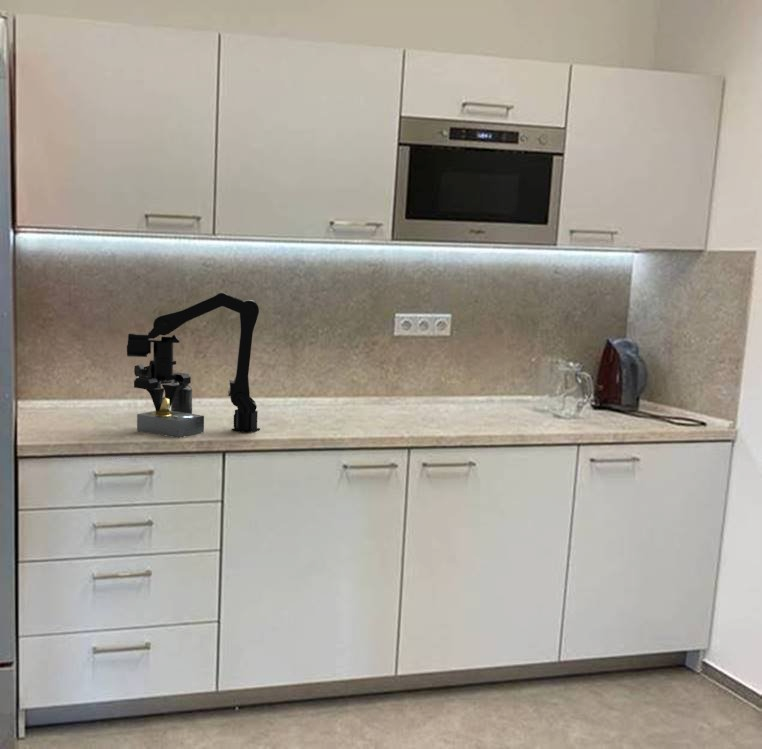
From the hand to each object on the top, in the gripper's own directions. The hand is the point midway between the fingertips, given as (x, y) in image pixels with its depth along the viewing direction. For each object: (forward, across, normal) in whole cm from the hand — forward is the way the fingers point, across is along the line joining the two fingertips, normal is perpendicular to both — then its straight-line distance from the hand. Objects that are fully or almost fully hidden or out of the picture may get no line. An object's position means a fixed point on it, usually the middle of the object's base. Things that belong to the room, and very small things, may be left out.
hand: (162, 409), depth 258 cm
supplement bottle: (+6, -24, -13) cm, 28 cm away
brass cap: (+4, 0, 0) cm, 4 cm away
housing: (+6, 0, +3) cm, 7 cm away
